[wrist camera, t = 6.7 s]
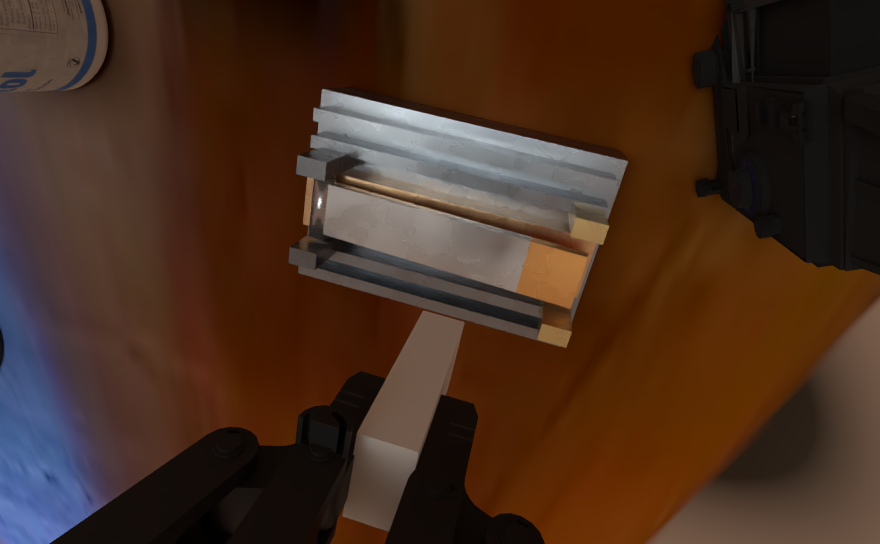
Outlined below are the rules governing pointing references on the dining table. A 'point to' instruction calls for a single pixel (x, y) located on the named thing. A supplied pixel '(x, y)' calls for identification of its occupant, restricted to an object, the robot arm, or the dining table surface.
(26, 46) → the supplement tub
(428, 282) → the heatsink block
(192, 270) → the dining table surface
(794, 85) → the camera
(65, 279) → the dining table surface
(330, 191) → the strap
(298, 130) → the dining table surface
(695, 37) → the dining table surface
